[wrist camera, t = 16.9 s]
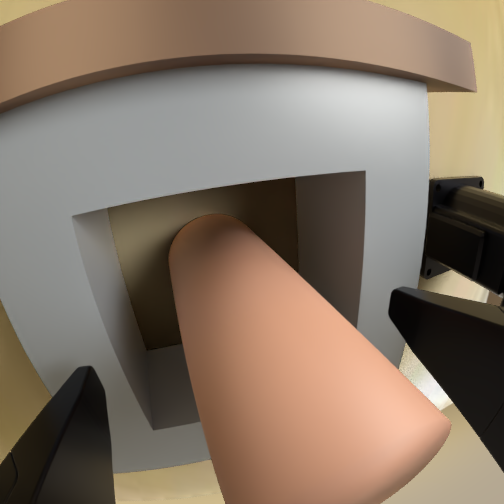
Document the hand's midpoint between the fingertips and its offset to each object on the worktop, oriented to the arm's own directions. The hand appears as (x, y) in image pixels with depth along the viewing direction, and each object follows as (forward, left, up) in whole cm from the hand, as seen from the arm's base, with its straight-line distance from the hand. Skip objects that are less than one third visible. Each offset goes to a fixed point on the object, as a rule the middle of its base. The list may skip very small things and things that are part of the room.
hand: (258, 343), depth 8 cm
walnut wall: (0, -8, -6) cm, 10 cm away
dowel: (0, 0, -6) cm, 6 cm away
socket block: (0, 0, -6) cm, 6 cm away
